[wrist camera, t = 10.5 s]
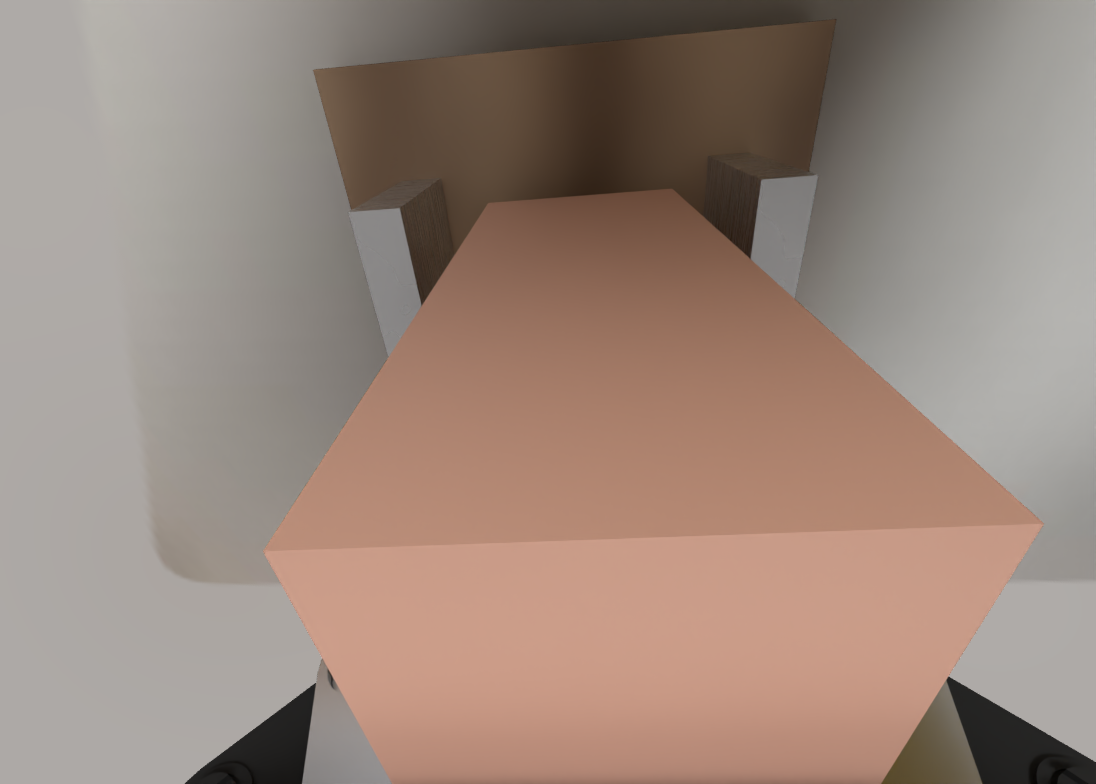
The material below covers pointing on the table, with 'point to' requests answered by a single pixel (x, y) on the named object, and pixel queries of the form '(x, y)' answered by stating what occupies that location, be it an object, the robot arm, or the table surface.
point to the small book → (637, 522)
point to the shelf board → (578, 116)
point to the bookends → (426, 250)
